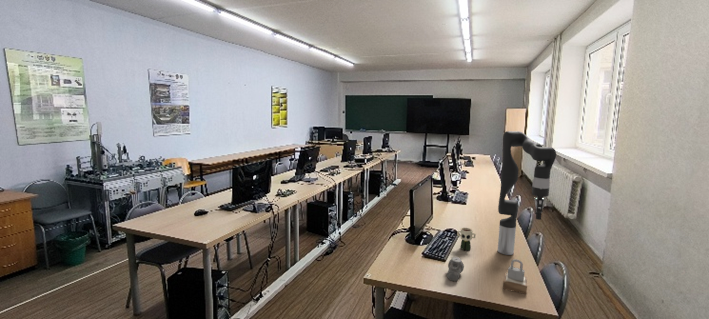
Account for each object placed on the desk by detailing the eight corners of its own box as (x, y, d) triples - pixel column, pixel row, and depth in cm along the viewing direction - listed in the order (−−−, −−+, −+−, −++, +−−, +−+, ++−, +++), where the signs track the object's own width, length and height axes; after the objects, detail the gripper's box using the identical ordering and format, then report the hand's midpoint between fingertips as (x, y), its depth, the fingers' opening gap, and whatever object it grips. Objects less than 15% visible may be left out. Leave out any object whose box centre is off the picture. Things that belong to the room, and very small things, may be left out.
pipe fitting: (448, 268, 181) (450, 252, 178) (463, 273, 178) (465, 256, 175) (443, 281, 171) (445, 263, 168) (459, 286, 167) (461, 268, 164)
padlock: (524, 278, 163) (525, 259, 162) (523, 282, 160) (524, 262, 159) (508, 274, 167) (509, 256, 166) (507, 278, 164) (508, 259, 162)
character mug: (455, 249, 208) (456, 229, 206) (457, 245, 214) (458, 226, 212) (474, 252, 203) (475, 232, 202) (474, 248, 210) (476, 229, 208)
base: (504, 279, 171) (505, 272, 170) (526, 284, 166) (526, 276, 166) (503, 288, 162) (504, 280, 161) (526, 294, 157) (527, 285, 157)
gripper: (532, 182, 175) (529, 212, 177) (532, 188, 162) (530, 219, 164) (548, 184, 171) (545, 214, 174) (550, 190, 159) (547, 222, 161)
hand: (537, 216), depth 169 cm, fingers open, 8 cm apart
